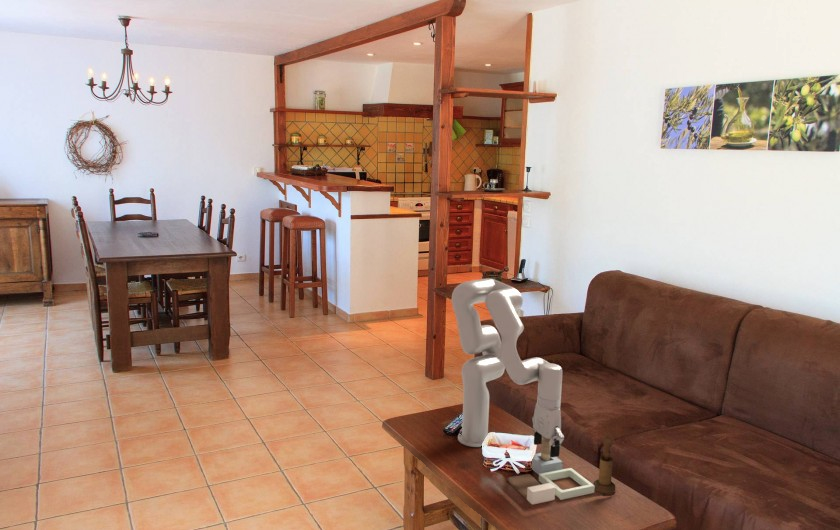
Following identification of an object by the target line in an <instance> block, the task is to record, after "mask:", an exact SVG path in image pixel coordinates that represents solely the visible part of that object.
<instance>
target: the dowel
mask: <svg viewBox="0 0 840 530" xmlns="http://www.w3.org/2000/svg"><path fill="white" fill-rule="evenodd" d="M540 445H541V446H540V447H541V449H540V450H541V451H540V453H541V460H542V461H543V462H546V461H550V448H551V445H552V443H551V440H550V439H547V438H545V437H544V436H542V443H541V444H540Z"/></svg>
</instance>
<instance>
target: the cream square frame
mask: <svg viewBox="0 0 840 530" xmlns="http://www.w3.org/2000/svg"><path fill="white" fill-rule="evenodd" d="M566 478H571V479H572V480H573V481H575V482H576V483H577V484H579V485H580V486H576V487H571V488H566V489H562V488H560V487H559V486H558V485H557V484H556V483H555V482H553V481H556V480H561V479H566ZM538 482H539V483H540V484H541V485H542V484H547V483H551V484H552V485H553V486H554V487H555V497H557V498H559V500H560V501H561V500H562V501H563V500H565V499H572V498H576V497H580V496H584V495H585V496H586V495H589V494H594V493H595V486H594V483H592V482H591V481H589V480H588V479H586V478H585V477H584V476H582V474H580V473H579V472H578V471H576V470H575V469H573V468H572V467H568V468H562V470H557V471H552V472H547V473H542V474H539V475H538Z"/></svg>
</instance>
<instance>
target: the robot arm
mask: <svg viewBox="0 0 840 530" xmlns="http://www.w3.org/2000/svg"><path fill="white" fill-rule="evenodd" d="M523 301H524V300H523V296H522V294H521V292H520V291H519V290H518V289H516V288H515V287H513V286H511V285H509V284H506V283H504V282H502V281H500V280H497V279H494V278H487V277H486V278H480V279H473V280H469V281H464V282H462V283H461V282H460V283H459V284H457V286H455V287H454V289H453V291H452V293H451V304H452V310H453V313H454V314H455V318H456V324H457V330H458V335H459V336H458V337H459V341H460V346H461V349H462V351H463V353H465V354H467V355H476V354H480V353H482V355H480V356H476V357H472V358H470V359H468V360H467V361H465V362H464V363H463V364H462V367H461V379H462V385H463V386H462V387H463V388H462V389H463V394H462V395H463V396H462V399H463V400H462V422H461V423H460V427H462V429H461V432H462V435H461V434H460V433H458V435H457V441H458V442H459V443H460V444H462V445H463V446H467V447H471V448H482V447H481V445H482V442H483V440H484V439H485V437H486V436H487V434H489V413H490V392H489V389H488V387H487V384H486V383H488V382H491V381H494V380H497V379H498V378H499V379H500V377H502V376H503V374H504V373H505V370H506V372H507V374H508V376H509V378H510V379H511V380H512V381H513V382H514V383H515V384H517V385H518V386H519V385H520V386H521V385H522V386H523V385H527V384H530V383H532V382H538V383H537V384H538V385H537V401H536V404H535V407H534V413H533V416H532V417H531V420H532V429H533V430H532V431H533V433H534V434H533V444H534V446H537V445H541V443H542V436H544V437H545V438H547V439H550V440H551V448H550V457H557V458H558V457H560V450H561V449H560V447H561V446H562V444H563V442H564V440H565V436H564V434H563V433H562V416H561V415H562V413H561V404H562V403H561V402H562V386H563V385H562V384H563V383H562V382H563V368H562V367H561V366H560V365H559V364H556V363H553V362H552V363H550V362H548V361H547V360H545V359H543V358H541V357H537V356H536V357H531V358H527V359H524V360H522V359H521V358H520V355H519V353H518V350H517V341H518V338H519V336H521V334H522V333H523V332H524V329H525V326H524V324H523V322H522V320H521V318H520V317H519V315H518V312H517V311H518V310H519V309H521V307H522V306H523ZM483 303H484V304H485V307H486V309H487V311H488V314H489V315H490V318H491V319H492V321H493V323H494V325H495V327H494V326H492V325H490V324H483V325H482V323H481V317H480V314H479V312H478V310H477V309H476V308H475V306H474V305H475V304H483ZM496 328H497V329H496ZM554 439H556V440H554Z"/></svg>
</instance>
